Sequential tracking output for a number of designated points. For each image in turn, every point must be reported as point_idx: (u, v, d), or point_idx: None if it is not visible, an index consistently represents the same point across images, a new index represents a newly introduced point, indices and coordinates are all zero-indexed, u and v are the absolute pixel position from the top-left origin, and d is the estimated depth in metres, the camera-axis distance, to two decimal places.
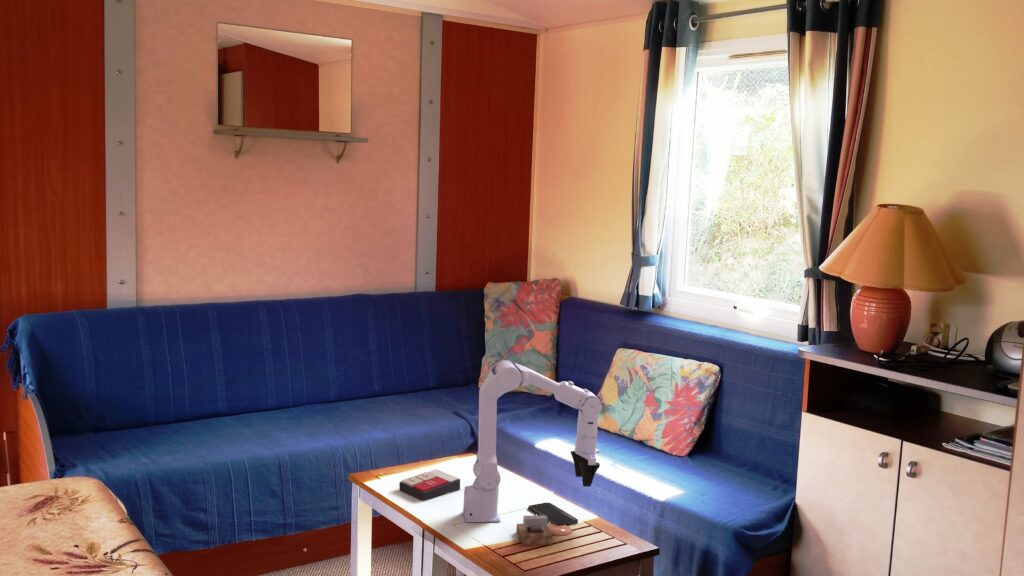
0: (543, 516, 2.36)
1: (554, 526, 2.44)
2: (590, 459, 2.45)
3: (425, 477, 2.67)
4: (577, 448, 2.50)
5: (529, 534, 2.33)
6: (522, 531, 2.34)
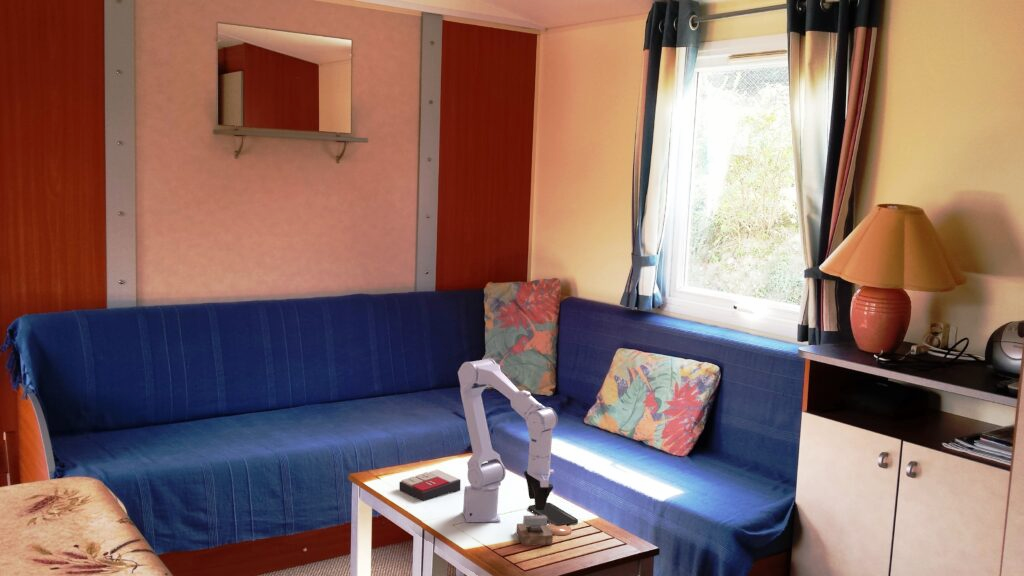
0: (543, 516, 2.36)
1: (554, 526, 2.44)
2: (542, 481, 2.27)
3: (425, 477, 2.67)
4: (529, 468, 2.32)
5: (529, 534, 2.33)
6: (522, 531, 2.34)
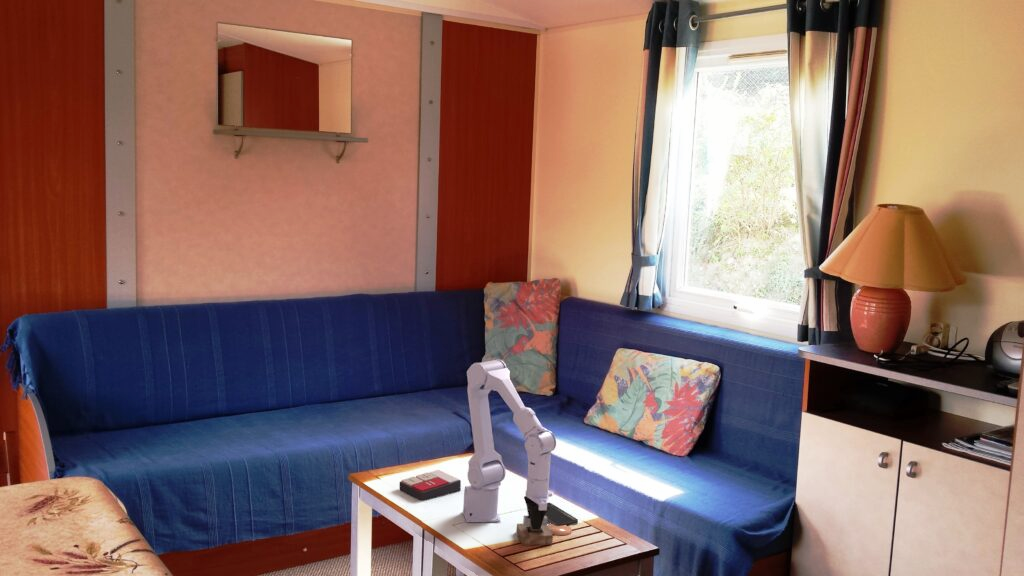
0: None
1: (554, 526, 2.44)
2: (540, 504, 2.28)
3: (425, 477, 2.67)
4: (528, 491, 2.33)
5: (529, 534, 2.33)
6: (522, 531, 2.34)
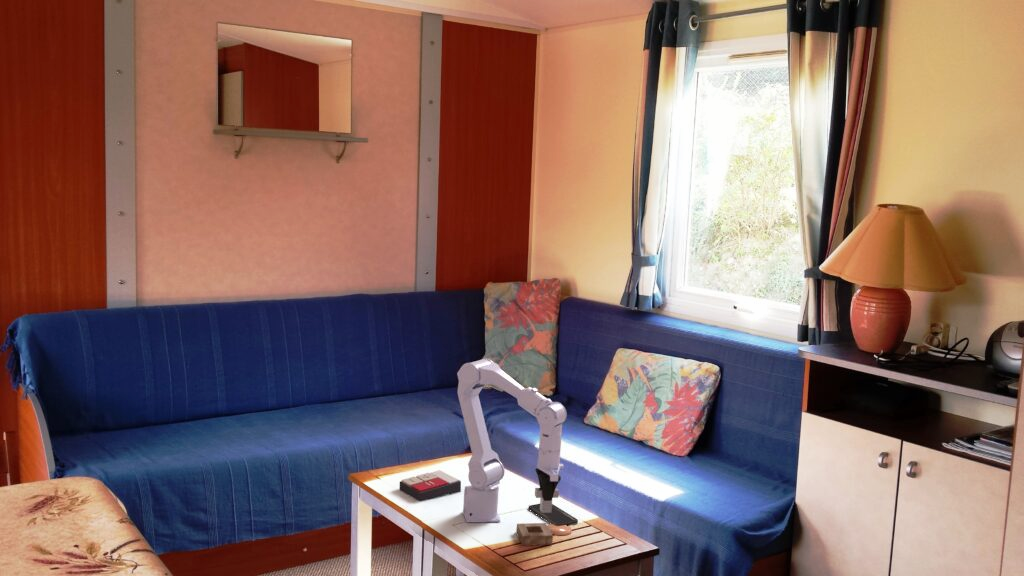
0: None
1: (554, 526, 2.44)
2: (552, 475, 2.29)
3: (426, 477, 2.67)
4: (539, 463, 2.35)
5: (529, 534, 2.33)
6: (522, 531, 2.34)
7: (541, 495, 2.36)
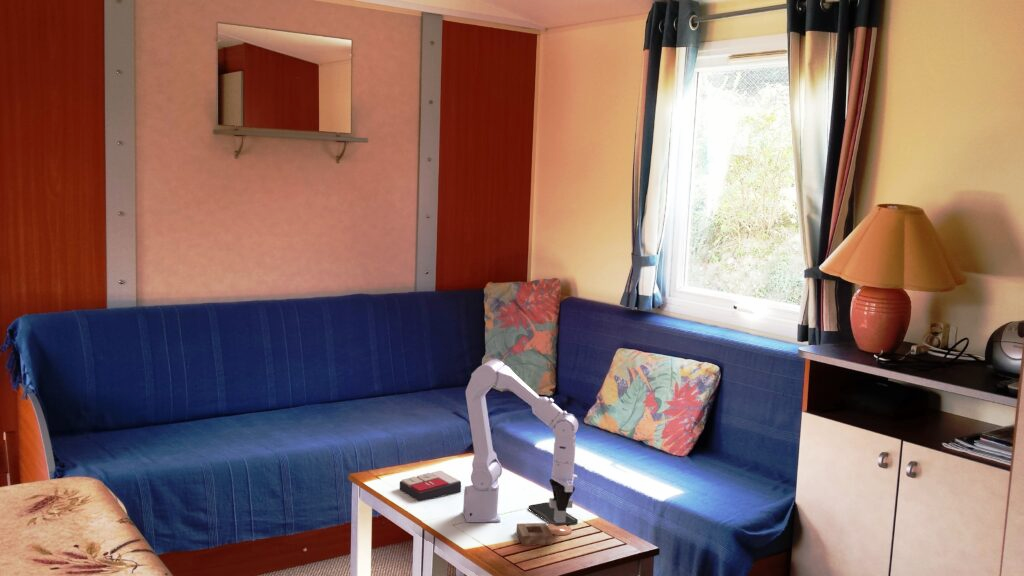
0: None
1: (554, 526, 2.44)
2: (567, 486, 2.34)
3: (426, 478, 2.66)
4: (554, 474, 2.39)
5: (529, 534, 2.33)
6: (522, 531, 2.34)
7: (555, 505, 2.41)
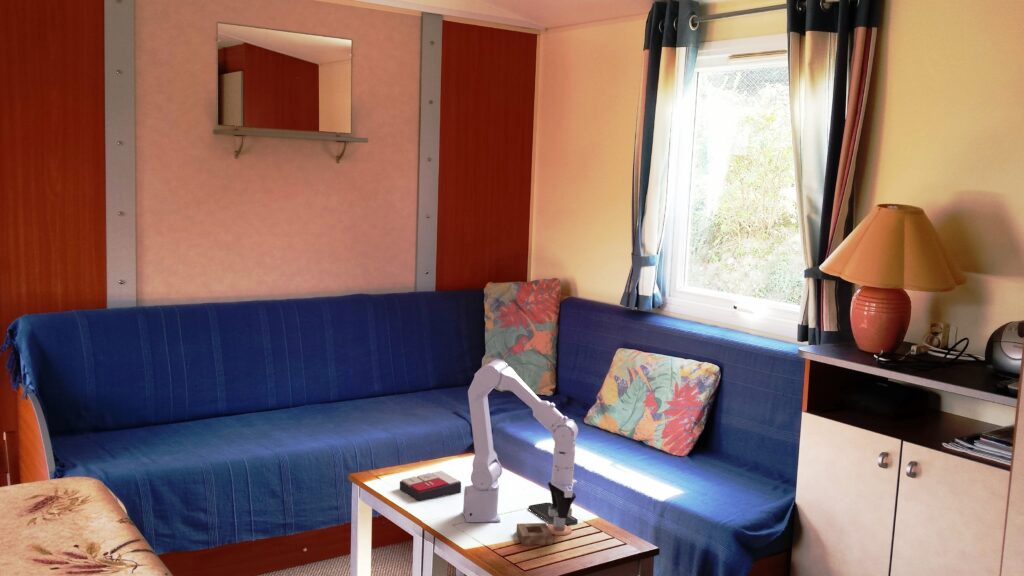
0: None
1: None
2: (566, 491, 2.34)
3: (426, 478, 2.66)
4: (553, 479, 2.39)
5: (529, 534, 2.33)
6: (522, 531, 2.34)
7: (554, 514, 2.41)
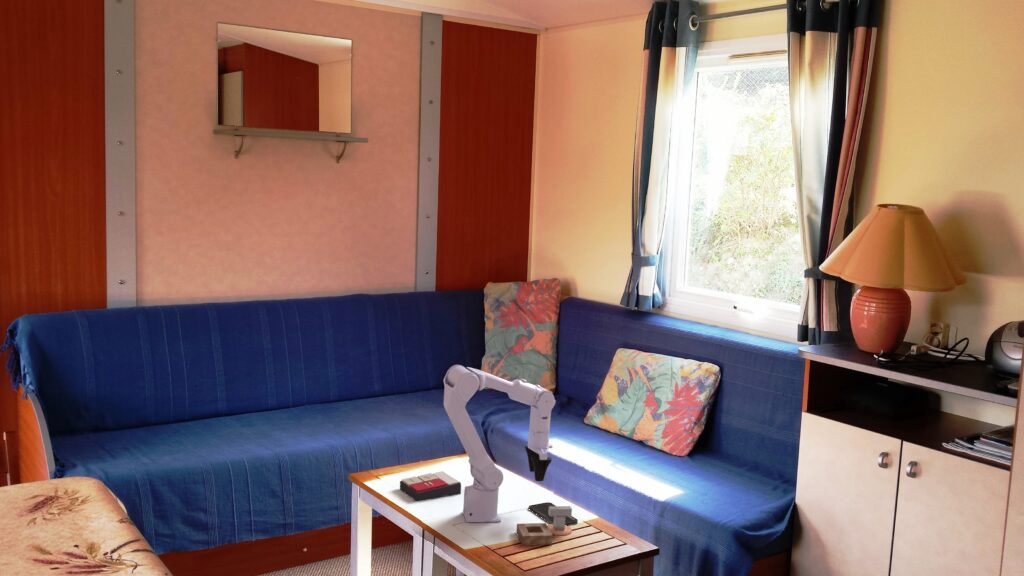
0: (567, 507, 2.42)
1: None
2: (541, 454, 2.46)
3: (426, 478, 2.66)
4: (530, 443, 2.51)
5: (529, 534, 2.33)
6: (522, 531, 2.34)
7: (554, 514, 2.41)
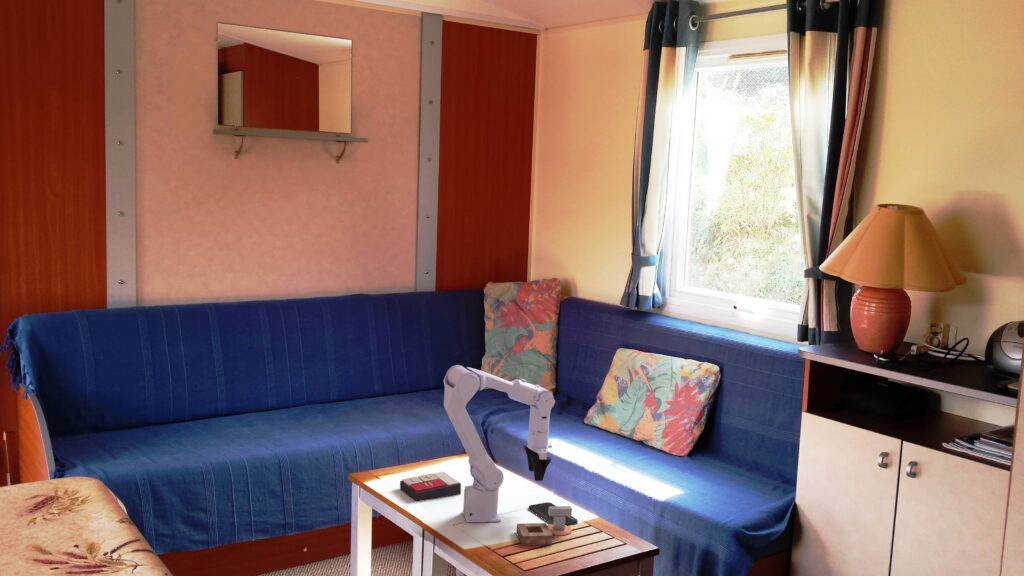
0: (567, 507, 2.42)
1: None
2: (541, 453, 2.46)
3: (427, 478, 2.66)
4: (529, 443, 2.51)
5: (529, 534, 2.33)
6: (522, 531, 2.34)
7: (554, 514, 2.41)
